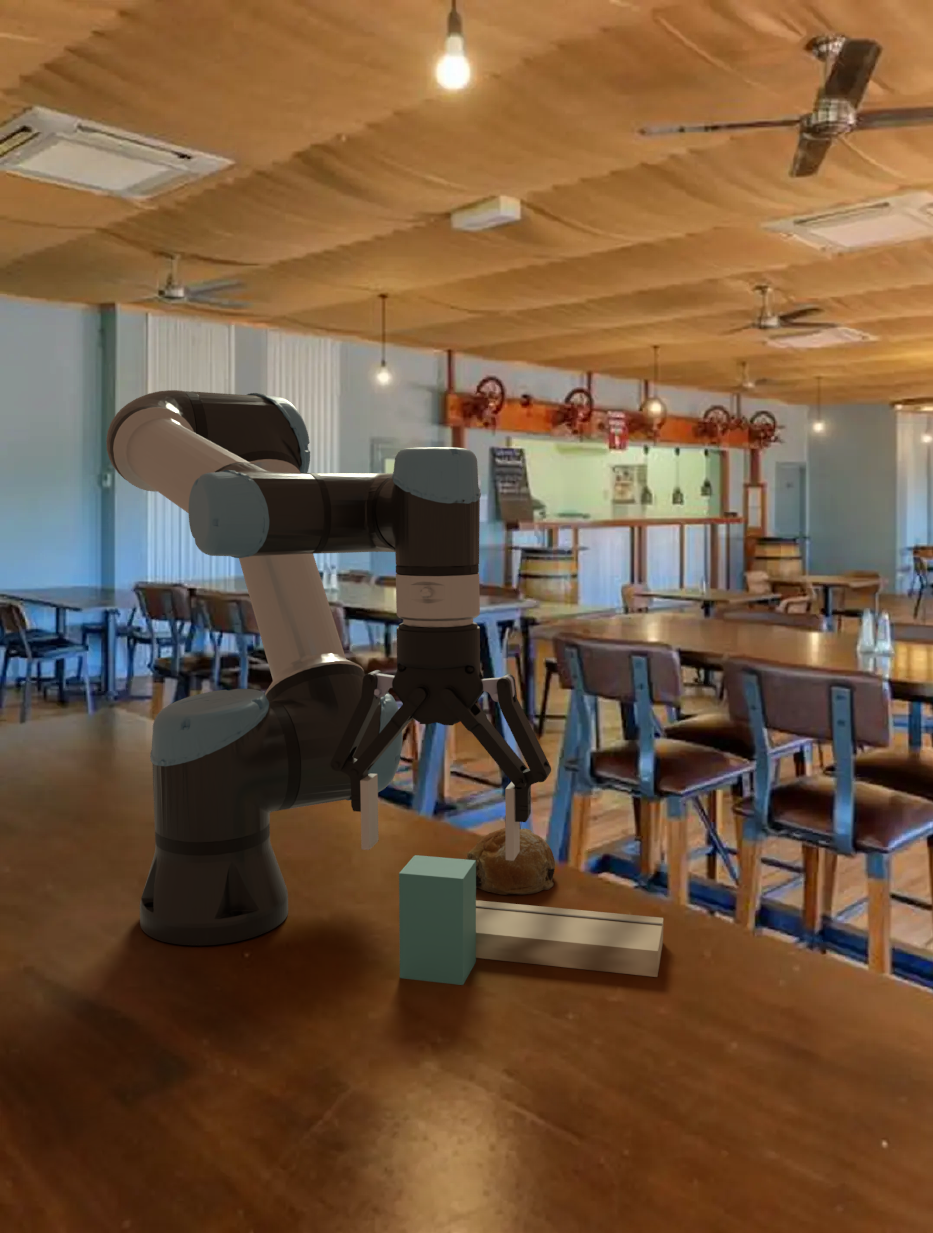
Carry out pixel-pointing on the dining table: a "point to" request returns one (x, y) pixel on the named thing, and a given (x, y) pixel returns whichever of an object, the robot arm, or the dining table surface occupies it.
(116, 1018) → the dining table surface
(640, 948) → the plank
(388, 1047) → the dining table surface
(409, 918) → the teal boxy piece
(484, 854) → the bread roll
